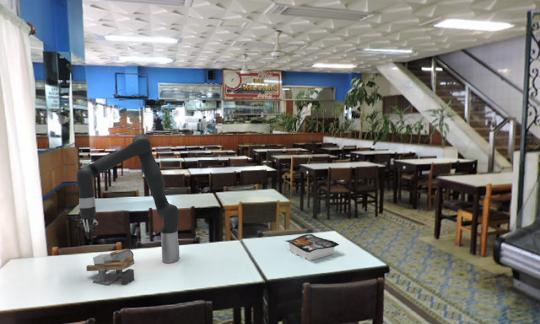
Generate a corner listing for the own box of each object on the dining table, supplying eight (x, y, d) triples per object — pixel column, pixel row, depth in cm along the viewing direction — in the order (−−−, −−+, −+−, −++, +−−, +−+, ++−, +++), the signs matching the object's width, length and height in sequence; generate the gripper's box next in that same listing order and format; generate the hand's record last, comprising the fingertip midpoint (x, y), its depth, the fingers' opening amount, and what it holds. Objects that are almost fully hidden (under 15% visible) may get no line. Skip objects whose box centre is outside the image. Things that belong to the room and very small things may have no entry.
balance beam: (99, 267, 204) (97, 257, 204) (135, 265, 194) (132, 255, 194) (87, 273, 197) (85, 262, 197) (123, 271, 187) (121, 260, 187)
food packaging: (283, 239, 233) (311, 233, 245) (283, 251, 234) (311, 244, 246) (309, 251, 212) (339, 243, 225) (309, 264, 213) (339, 255, 226)
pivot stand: (114, 272, 205) (113, 259, 204) (140, 277, 198) (139, 264, 197) (93, 282, 192) (92, 269, 191) (119, 288, 185) (118, 274, 184)
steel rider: (102, 263, 201) (100, 254, 201) (112, 263, 198) (110, 253, 198) (94, 267, 196) (92, 257, 196) (104, 266, 194) (102, 257, 193)
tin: (132, 260, 221) (131, 246, 220) (134, 262, 219) (133, 248, 218) (106, 268, 210) (105, 253, 209) (108, 269, 208) (107, 254, 207)
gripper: (102, 205, 198) (104, 237, 200) (84, 203, 203) (86, 234, 205) (90, 208, 191) (93, 242, 193) (72, 206, 196) (74, 238, 198)
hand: (89, 238), depth 199 cm, fingers closed
